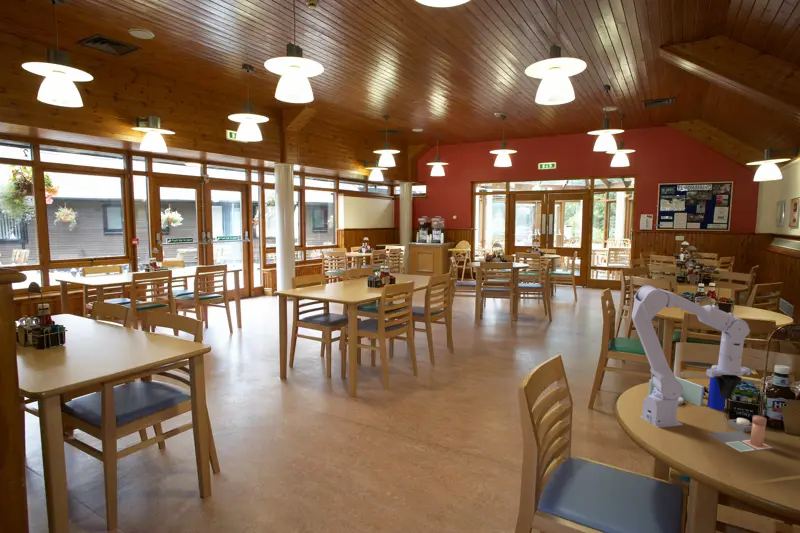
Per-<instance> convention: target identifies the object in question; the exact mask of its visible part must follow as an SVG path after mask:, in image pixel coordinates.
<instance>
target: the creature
mask: <svg viewBox="0 0 800 533" xmlns="http://www.w3.org/2000/svg"><path fill="white" fill-rule="evenodd" d="M691 382H692V383H695V382H694V381H691ZM700 385H701V386H703V385H704V384H700ZM708 393H709V387H708V386H704V393H703V396H704V395H705V398H706V399H708V395H706V394H708Z"/></svg>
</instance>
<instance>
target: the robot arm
mask: <svg viewBox="0 0 800 533" xmlns="http://www.w3.org/2000/svg"><path fill="white" fill-rule="evenodd" d="M633 301H634V302H633V305H632V306H633V307H632V312H631V320H632V323H633V325H634V327H635V330H636V332H637V335H638V338H639V340H640V344H641V346H642V348H643V350H644V353H645V355H646V358H647V361H648V364H649V366H650V374H651V378H650V379H651V382H652V384H653V385H654V386H655V387H654V389H653V393H652V394H651V395H650V396H648V395H646V396H645V397H644V398H643V400H642V401H643V402H642V410H641V411H642V413H641V414H642V415H640V418H642V419H643V420H645V421H647V422H648V423H649V424H651V425H653V426H655V428H656V427H657V428H666V427H677V426H683V425H684V424H683V423H681V422H680V421H678V420H677V419H678V408H679V405H678V399H679V397H680V396H681V395H682V393H683V387H682V385H681V383H680V382H678V381H677V380H676V378H675V377H676V375H675V374H674V372H673V371H672V369H671V368H670V366H669V364H668V360H667V358H666V356H665V352H664V350H663V348H662V345H661V342H660V341H659V337H658V334H657V333H656V330H655V328H654V325H653V322H652V320H653V318H654V317H655V316H656V315H657V314H659V312H661V311H662V310H664V309H665V307H666V308H668V309H669V308H672V307H677V308H679V309H682V310H684V311H686V312H689V313H691V314H693V315H695V316H696V317H697V319H698V321H699V322H700V323H703V324H705V325H707V326H709V327H711V328H713V329H716V330H717V331H721V338H720V346H719V347H720V348H719V353H718V362H717V365H718V366H717V367H714V368H712V369H711V368H708V369H706V371H705V372H706V374H705V375H706V376H707V377H709V378H710V377H714V376H715V378H716V380H717V382H718V385H719V389H720V395H721V397H723V398H725V399H726V400H730V399H731V397H732V395H733V393H734V391H735V389H736V388H737V386H738V385H739V384H740V383H741V382H742V377H743V375H746V376H750V374H751V368H748V367H746V366H742V359H743V350H744V344H745V339H746V337H748V335H749V334H750V332H751V329H750V326H749V324H748V323H747V321H745V320H744V319H741V318H740V317H737V316H735V315H734V313H731V312H726V311H724V310H721V309H719V308H720V307H719V306H717V305H715V304H712V305H710V304H707V305H706V304H705V305H700V304H697V303H695V302H693V301H691V300H690V299H687V298H685V297H683V296H680V295H678V294H676V293H674V292H672V291H670V290H669V291H668V290H665V289H664V288H663V289H662V288H659V287H657V288H656V287H655V286H653V285H650V284H646V285H643V286H641V287H639V289H638V290H637V291H636V292H635V294H634V295H633Z"/></svg>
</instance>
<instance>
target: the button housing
mask: <svg viewBox="0 0 800 533" xmlns="http://www.w3.org/2000/svg"><path fill="white" fill-rule="evenodd" d="M727 421H728V422H727V425H728V426H731V427H733V428H734V429H736V430H737V431H738V430H739V431H741V432H743V433H746V432H751V430H752V422H751V421H750V422H749V426H746V427H743V426H741V425H739V424H737V423H736V422H737V418H736V419H728V420H727Z"/></svg>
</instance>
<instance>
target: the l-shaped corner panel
mask: <svg viewBox="0 0 800 533" xmlns="http://www.w3.org/2000/svg"><path fill="white" fill-rule="evenodd" d="M675 378H676V380H677V381H678V382H680V383H681V385H682V387H683V393H682V395H681V396H680V397H679V399H678V406H681V405H683V404H685V403H684V401H686V402H688V403H691V404H693V405H697V406H698V407H703V401H704V395H703V393H705V392H704V387H705V386H701V385H702V384H697V383H695V382H694V383H692V382H693V381H689V380H687V379H683V378H680V377H678V376H675ZM654 387H655V386H654V385H653V384H652V382H651V378H650V379H648V390H647V392H648V393H647V396H650V395H651V394H652V393H653V389H654Z"/></svg>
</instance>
